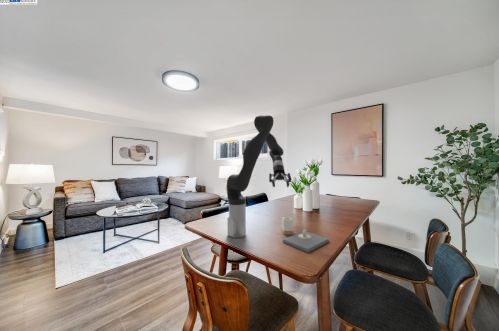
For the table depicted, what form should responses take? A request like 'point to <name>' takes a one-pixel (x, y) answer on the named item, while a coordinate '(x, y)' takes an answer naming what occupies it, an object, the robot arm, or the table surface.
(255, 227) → the table surface
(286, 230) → the sleeve
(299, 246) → the pin board
